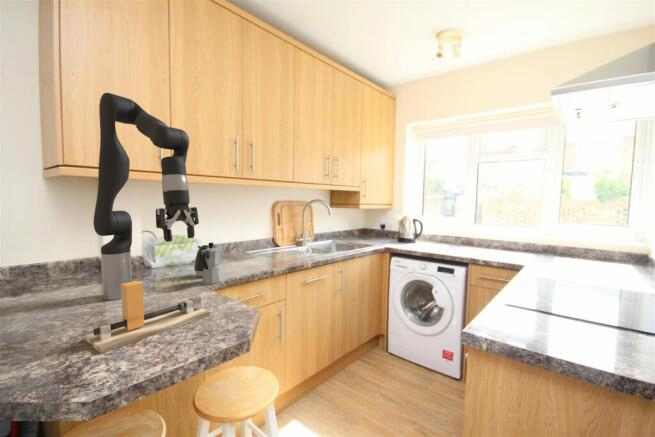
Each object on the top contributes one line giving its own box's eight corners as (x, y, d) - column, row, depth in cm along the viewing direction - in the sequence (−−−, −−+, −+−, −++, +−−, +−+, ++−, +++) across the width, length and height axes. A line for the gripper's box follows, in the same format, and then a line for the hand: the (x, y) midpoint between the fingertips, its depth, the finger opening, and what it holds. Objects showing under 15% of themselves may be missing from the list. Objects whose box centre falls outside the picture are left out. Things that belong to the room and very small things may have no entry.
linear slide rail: (85, 339, 79) (84, 321, 78) (190, 307, 102) (189, 293, 102) (100, 353, 72) (99, 333, 71) (209, 315, 95) (209, 300, 94)
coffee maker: (208, 278, 140) (207, 240, 139) (227, 278, 140) (226, 240, 138) (193, 287, 125) (192, 245, 124) (213, 287, 125) (212, 245, 123)
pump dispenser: (209, 272, 151) (208, 242, 150) (221, 275, 145) (220, 244, 144) (189, 276, 143) (188, 245, 142) (201, 279, 137) (200, 247, 136)
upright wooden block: (123, 326, 82) (120, 283, 81) (138, 322, 85) (136, 280, 85) (128, 330, 80) (126, 286, 79) (144, 325, 83) (142, 283, 82)
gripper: (185, 191, 103) (189, 237, 103) (146, 190, 89) (151, 243, 90) (201, 189, 100) (205, 236, 100) (164, 188, 87) (169, 242, 87)
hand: (180, 239), depth 95 cm, fingers open, 8 cm apart
